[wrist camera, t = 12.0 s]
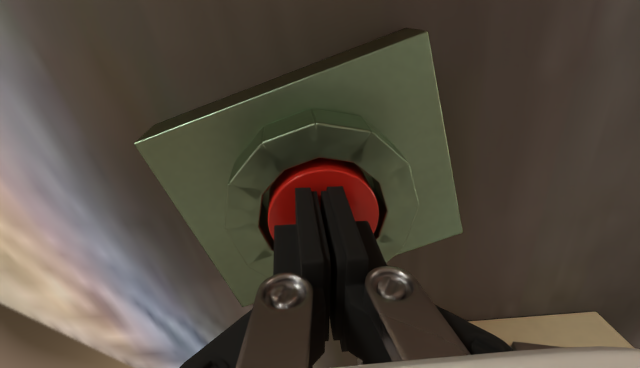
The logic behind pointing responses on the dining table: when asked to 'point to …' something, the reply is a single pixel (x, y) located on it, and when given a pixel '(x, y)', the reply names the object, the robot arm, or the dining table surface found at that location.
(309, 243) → the robot arm
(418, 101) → the button housing
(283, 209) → the red button
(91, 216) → the dining table surface
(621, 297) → the dining table surface
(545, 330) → the panel
